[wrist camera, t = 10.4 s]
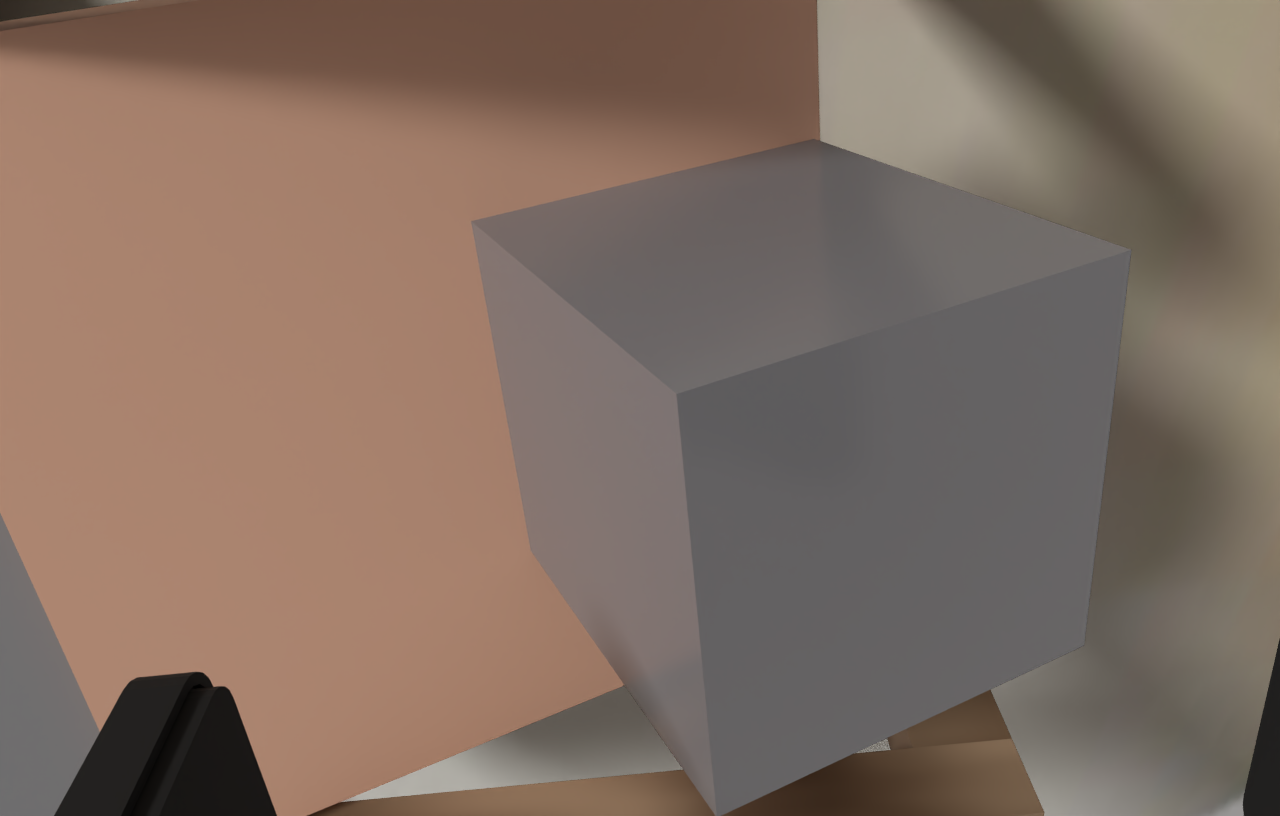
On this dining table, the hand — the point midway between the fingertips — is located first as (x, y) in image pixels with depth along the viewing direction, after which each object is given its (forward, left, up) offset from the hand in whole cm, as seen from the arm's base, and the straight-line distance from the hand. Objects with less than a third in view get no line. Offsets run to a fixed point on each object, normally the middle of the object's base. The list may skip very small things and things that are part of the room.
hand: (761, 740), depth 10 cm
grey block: (0, 0, -8) cm, 8 cm away
